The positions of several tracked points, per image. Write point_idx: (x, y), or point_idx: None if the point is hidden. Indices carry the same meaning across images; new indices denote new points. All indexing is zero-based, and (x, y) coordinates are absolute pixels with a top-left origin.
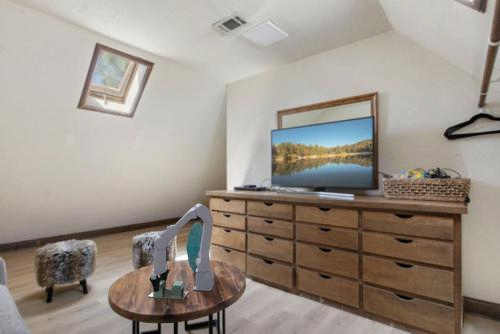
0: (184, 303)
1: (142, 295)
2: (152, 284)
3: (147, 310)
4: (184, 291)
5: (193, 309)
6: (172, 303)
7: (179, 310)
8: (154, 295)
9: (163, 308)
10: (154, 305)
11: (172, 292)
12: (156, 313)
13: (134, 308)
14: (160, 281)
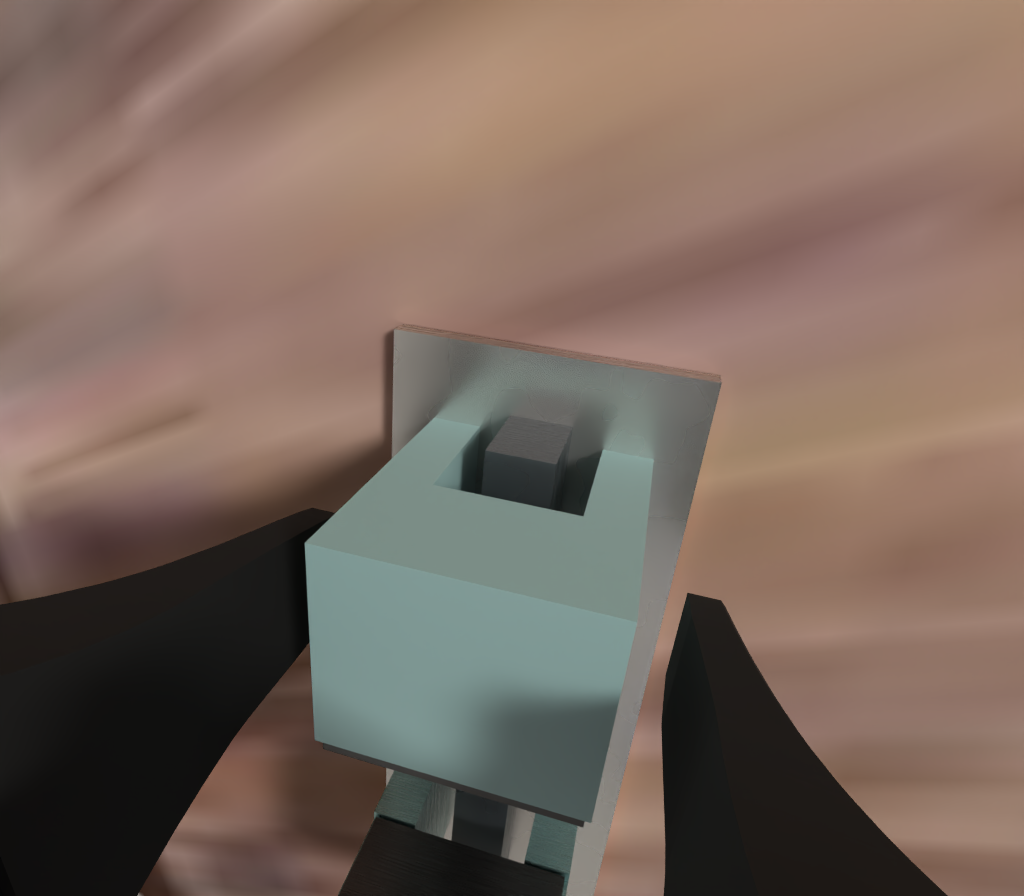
0: (296, 833)
1: (477, 147)
2: (124, 591)
3: (39, 451)
4: (594, 871)
5: (204, 889)
6: (271, 720)
7: None
8: None
9: None
10: (172, 512)
11: (390, 786)
12: (26, 576)
13: (11, 221)
14: (508, 709)
